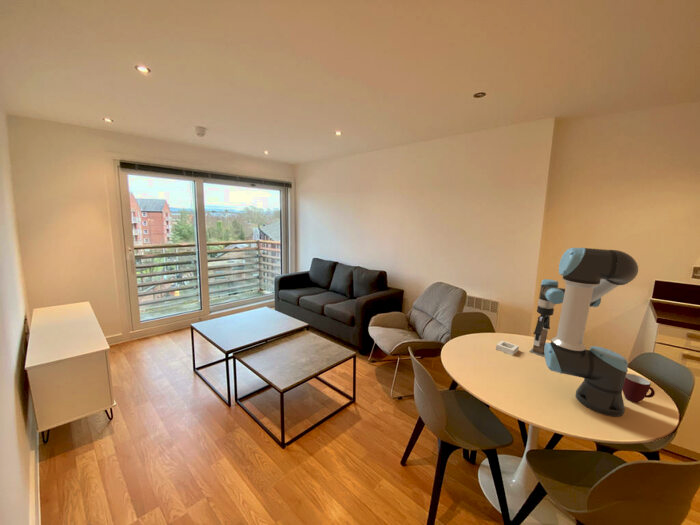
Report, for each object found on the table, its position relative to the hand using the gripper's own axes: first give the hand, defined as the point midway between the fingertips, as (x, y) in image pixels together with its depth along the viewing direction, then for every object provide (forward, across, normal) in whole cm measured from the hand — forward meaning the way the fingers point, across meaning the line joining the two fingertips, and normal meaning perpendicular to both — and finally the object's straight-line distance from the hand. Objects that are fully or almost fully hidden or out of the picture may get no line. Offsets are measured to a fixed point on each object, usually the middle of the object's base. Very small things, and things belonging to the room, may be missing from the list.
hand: (539, 342), depth 156 cm
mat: (+6, 0, 0) cm, 6 cm away
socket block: (+6, -12, +12) cm, 18 cm away
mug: (+7, -16, -40) cm, 44 cm away
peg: (+6, 0, 0) cm, 6 cm away
